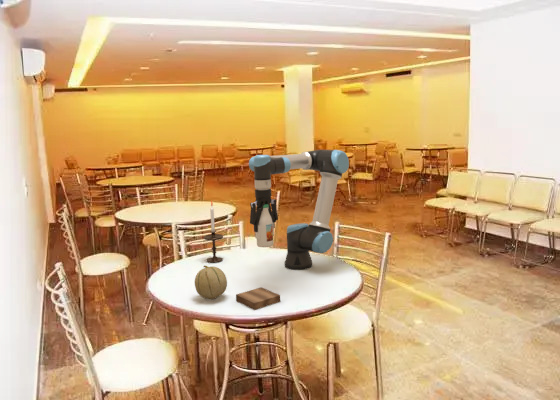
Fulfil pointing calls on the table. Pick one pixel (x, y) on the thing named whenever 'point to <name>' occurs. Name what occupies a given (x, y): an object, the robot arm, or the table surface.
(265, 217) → the milk bottle
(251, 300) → the block
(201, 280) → the cantaloupe
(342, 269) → the table surface
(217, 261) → the candlestick
